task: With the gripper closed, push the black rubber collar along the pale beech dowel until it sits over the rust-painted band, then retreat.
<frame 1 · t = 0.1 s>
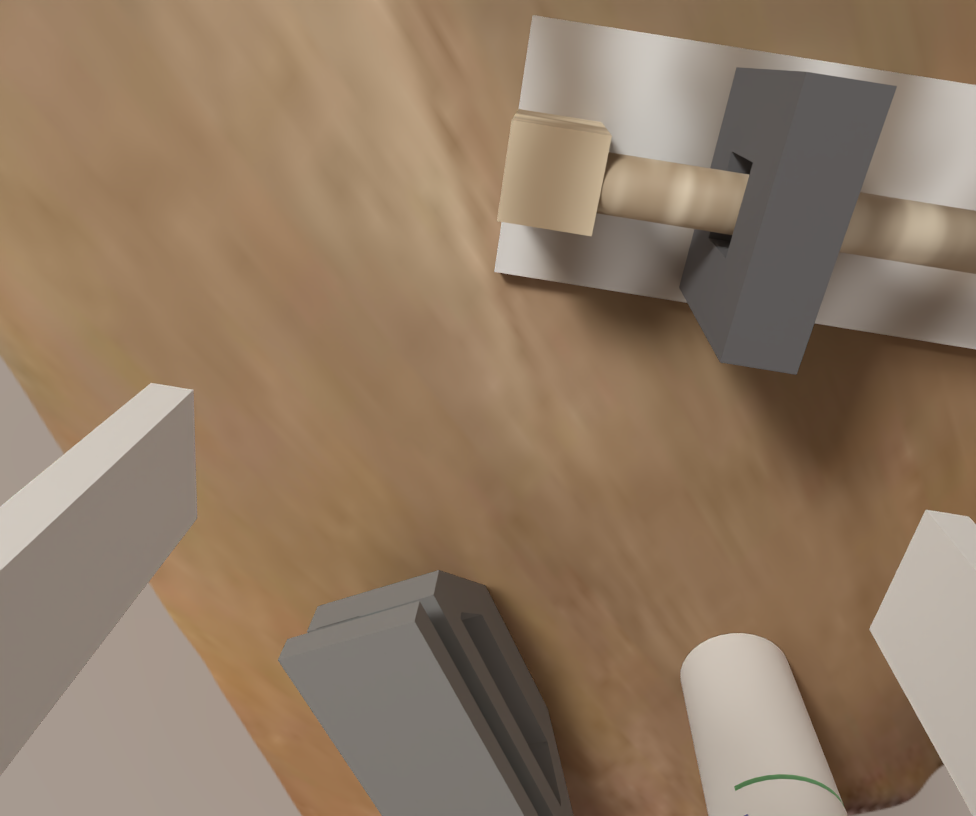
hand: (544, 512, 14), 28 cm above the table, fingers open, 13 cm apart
grey grooved block: (465, 661, 52), on the table
rail: (830, 200, 37), on the table
cylindrical container: (733, 672, 51), on the table
collar: (764, 208, 32), point 7 cm above the table, slide at 0.0 cm
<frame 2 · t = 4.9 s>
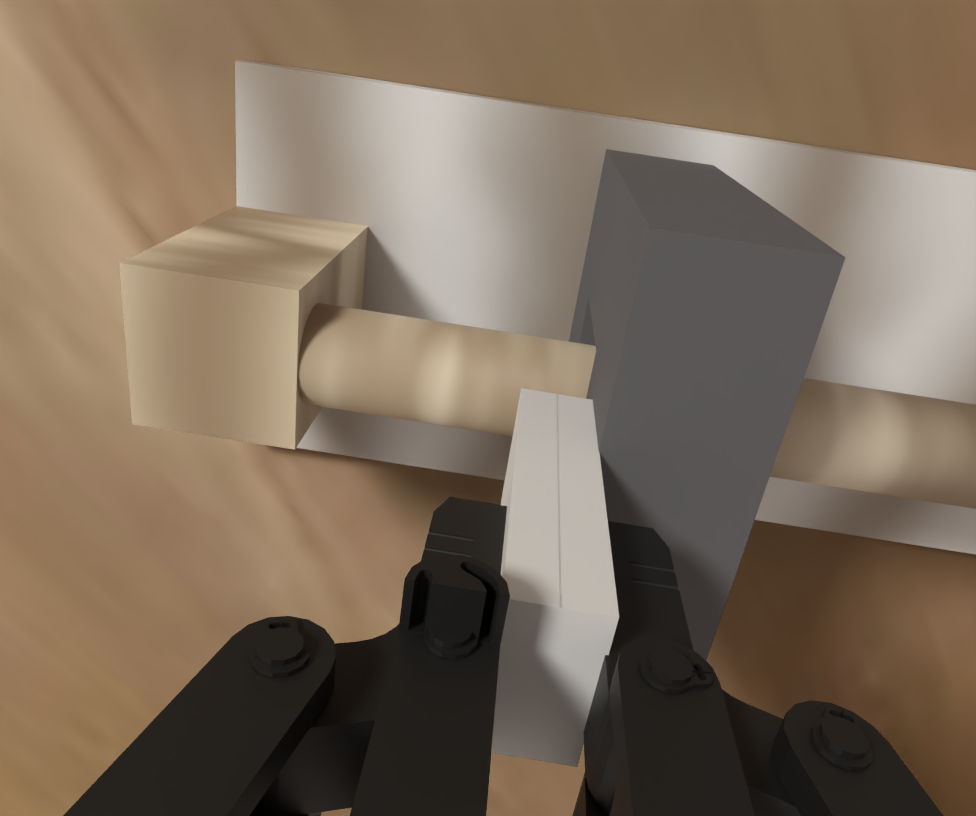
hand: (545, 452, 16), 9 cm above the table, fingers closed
rail: (738, 338, 24), on the table
collar: (637, 404, 18), point 6 cm above the table, slide at 1.1 cm, touching gripper
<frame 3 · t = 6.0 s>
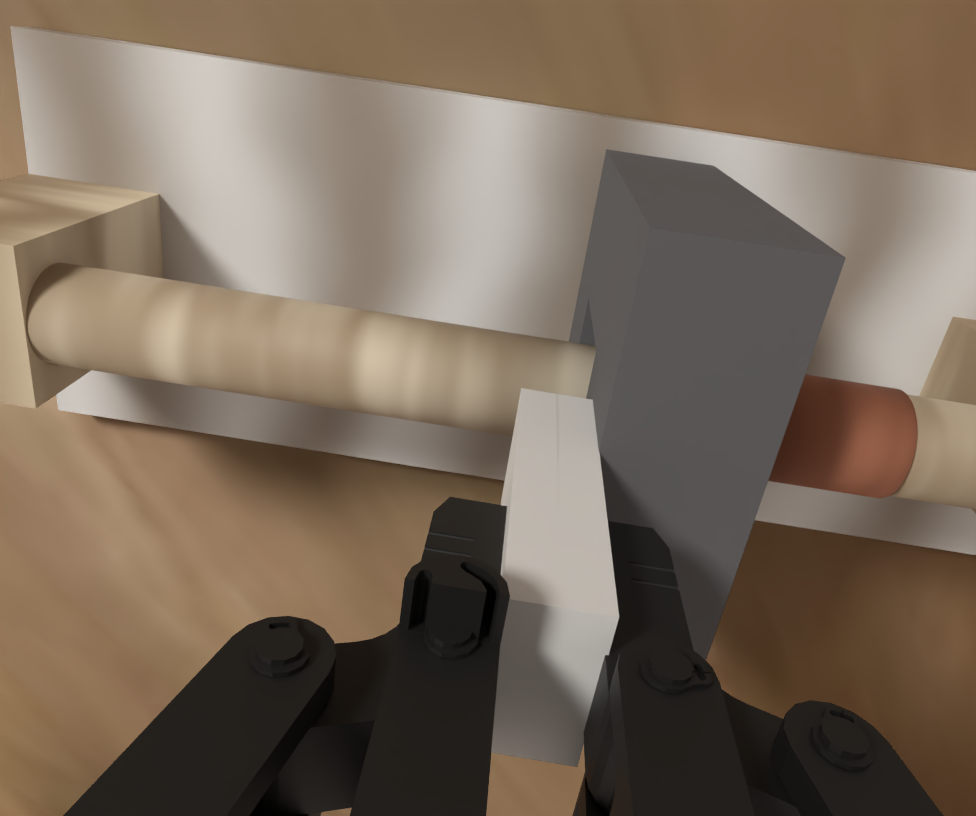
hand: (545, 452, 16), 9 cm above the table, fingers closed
rail: (542, 308, 24), on the table
collar: (637, 404, 18), point 7 cm above the table, slide at 7.4 cm, touching gripper
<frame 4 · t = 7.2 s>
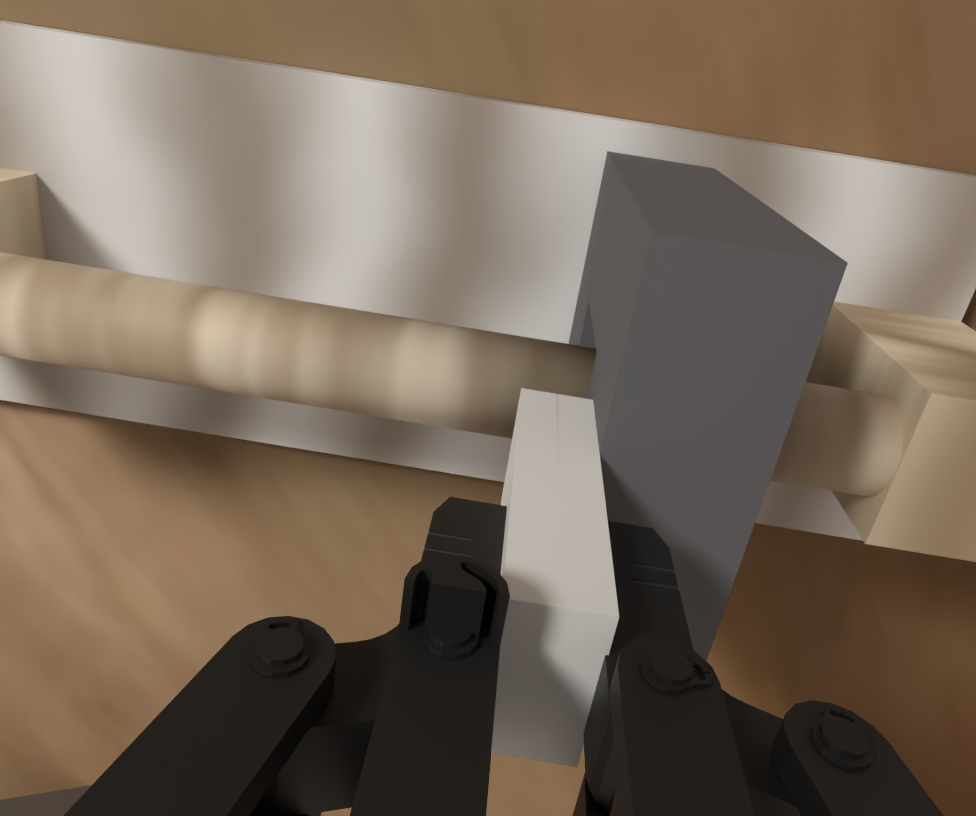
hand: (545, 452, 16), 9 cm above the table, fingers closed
rail: (427, 291, 24), on the table
collar: (637, 407, 18), point 6 cm above the table, slide at 11.2 cm, touching gripper
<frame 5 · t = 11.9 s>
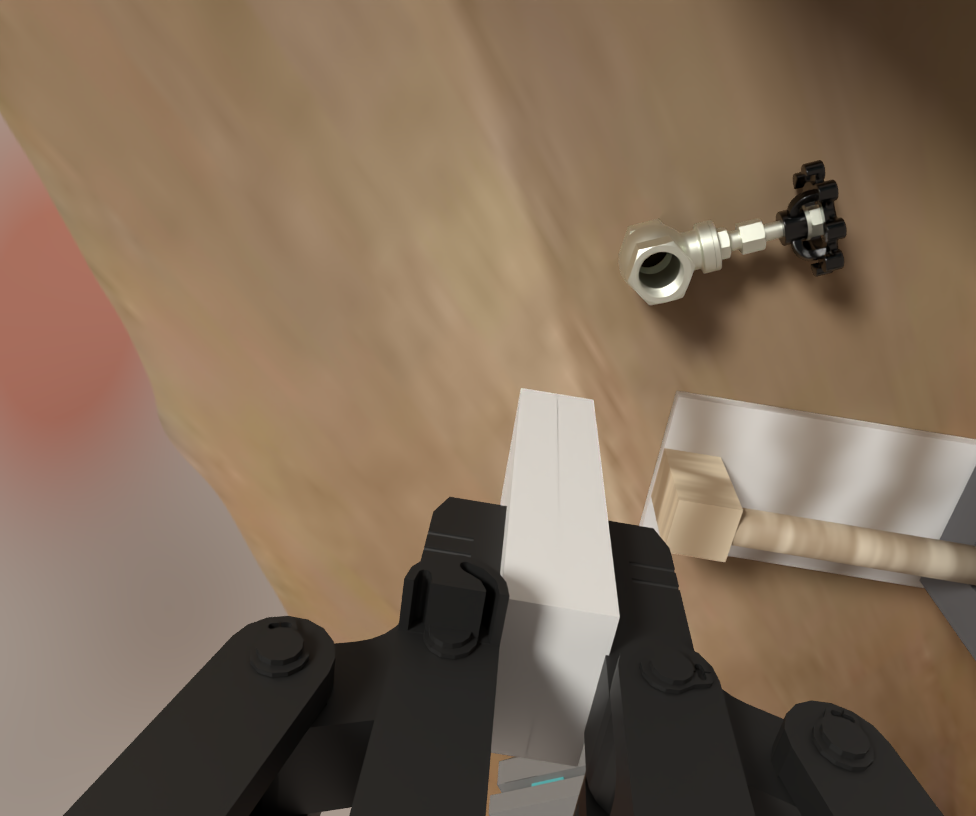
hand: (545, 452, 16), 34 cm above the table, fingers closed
valve: (709, 231, 48), on the table
grey grooved block: (589, 784, 69), on the table
rail: (875, 501, 54), on the table
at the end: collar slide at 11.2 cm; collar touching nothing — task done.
